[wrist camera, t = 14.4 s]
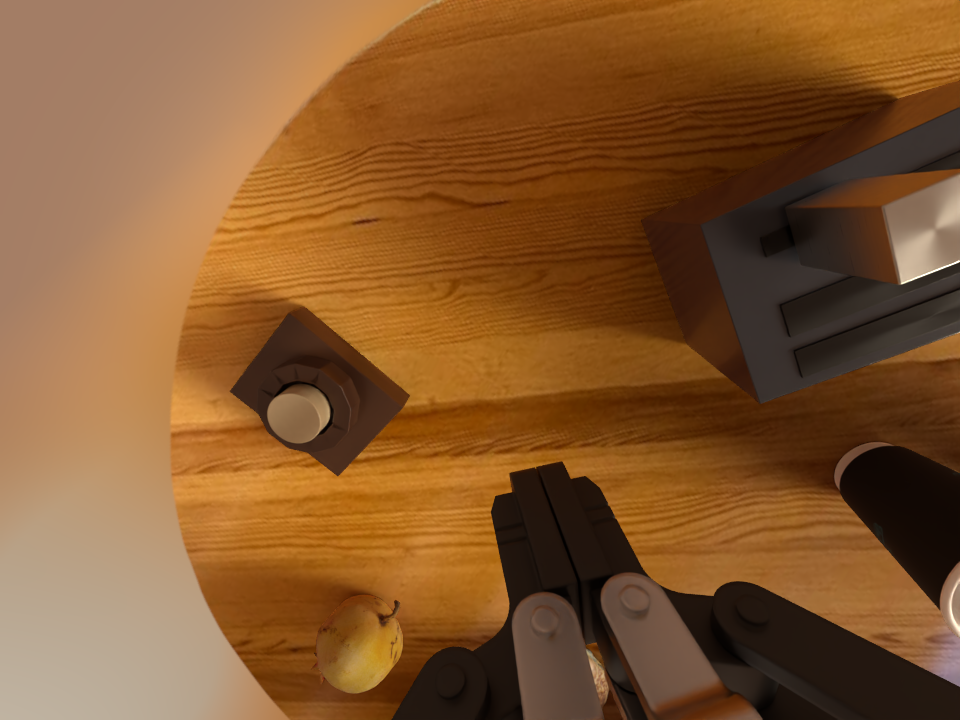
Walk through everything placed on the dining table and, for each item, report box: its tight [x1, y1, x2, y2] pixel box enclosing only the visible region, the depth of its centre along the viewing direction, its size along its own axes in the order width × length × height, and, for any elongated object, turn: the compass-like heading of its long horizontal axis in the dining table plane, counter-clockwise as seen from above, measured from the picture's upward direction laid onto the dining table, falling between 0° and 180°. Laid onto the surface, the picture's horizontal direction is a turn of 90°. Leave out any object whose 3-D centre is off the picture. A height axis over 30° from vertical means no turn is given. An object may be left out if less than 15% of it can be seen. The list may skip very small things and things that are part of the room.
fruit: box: [311, 595, 403, 693], centre depth 38 cm, size 7×7×10 cm
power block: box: [230, 307, 410, 476], centre depth 32 cm, size 10×8×4 cm
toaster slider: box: [785, 169, 960, 285], centre depth 16 cm, size 2×3×5 cm
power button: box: [267, 384, 331, 443], centre depth 30 cm, size 4×4×2 cm
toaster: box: [641, 80, 960, 404], centre depth 23 cm, size 15×9×10 cm, turn 116°
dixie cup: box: [834, 442, 960, 638], centre depth 27 cm, size 8×8×11 cm
